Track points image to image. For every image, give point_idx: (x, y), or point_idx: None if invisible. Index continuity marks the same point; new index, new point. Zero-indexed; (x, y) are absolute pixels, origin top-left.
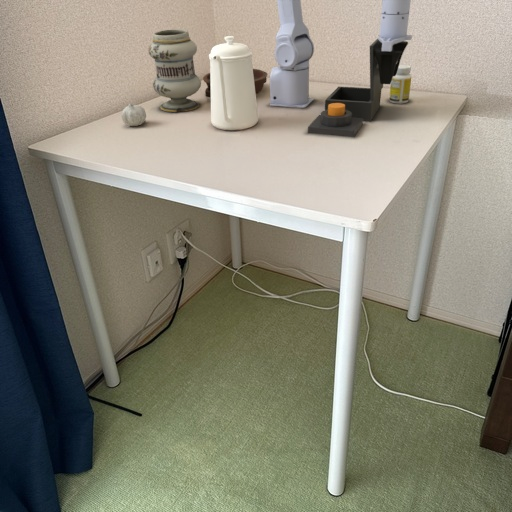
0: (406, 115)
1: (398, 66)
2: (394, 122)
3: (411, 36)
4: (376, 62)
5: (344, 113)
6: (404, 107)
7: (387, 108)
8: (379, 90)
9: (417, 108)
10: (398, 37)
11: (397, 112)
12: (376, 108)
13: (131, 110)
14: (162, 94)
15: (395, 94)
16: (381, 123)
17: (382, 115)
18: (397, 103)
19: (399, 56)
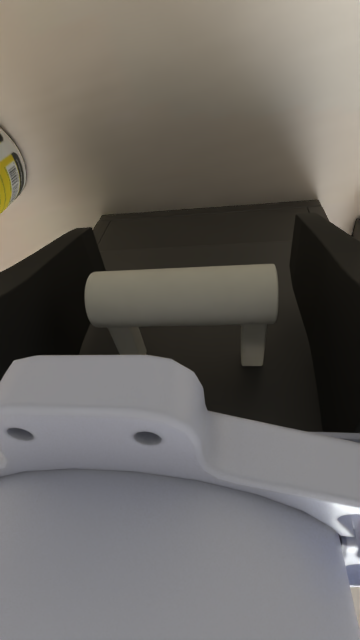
0: (176, 54)
1: (53, 247)
2: (310, 87)
3: (127, 412)
4: (264, 381)
5: None
6: (52, 105)
7: (107, 179)
8: (174, 252)
9: (28, 22)
10: (326, 528)
11: (145, 118)
12: (184, 216)
13: None
14: None
15: (9, 184)
16: (332, 147)
17: (213, 174)
18: (20, 155)
19: (31, 293)
